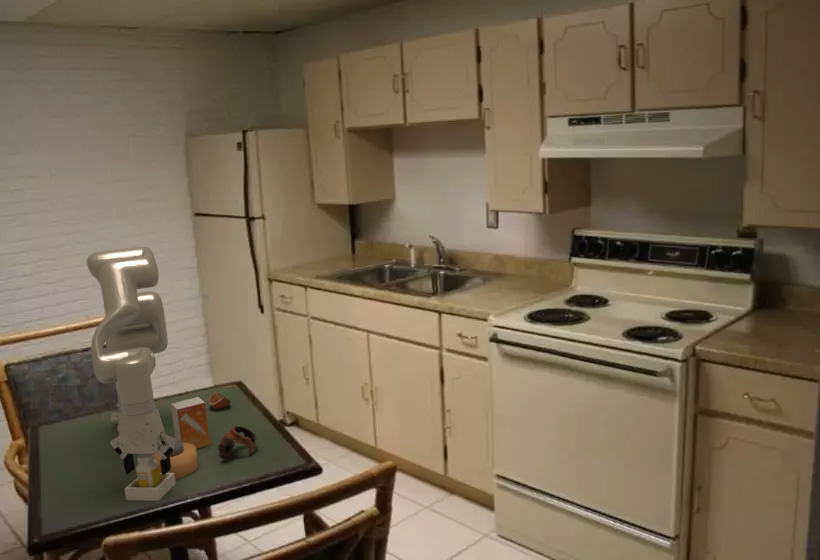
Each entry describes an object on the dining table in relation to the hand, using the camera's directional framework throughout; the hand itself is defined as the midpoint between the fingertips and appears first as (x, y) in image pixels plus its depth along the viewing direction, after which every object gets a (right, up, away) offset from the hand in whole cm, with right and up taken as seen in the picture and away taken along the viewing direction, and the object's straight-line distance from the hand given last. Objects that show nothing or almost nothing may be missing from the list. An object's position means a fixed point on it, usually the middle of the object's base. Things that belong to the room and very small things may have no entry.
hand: (148, 472), depth 181 cm
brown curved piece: (+17, -1, +20) cm, 26 cm away
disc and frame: (+1, -4, +7) cm, 8 cm away
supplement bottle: (0, -5, +1) cm, 6 cm away
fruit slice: (+3, +6, +56) cm, 57 cm away
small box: (+3, 0, +27) cm, 28 cm away
